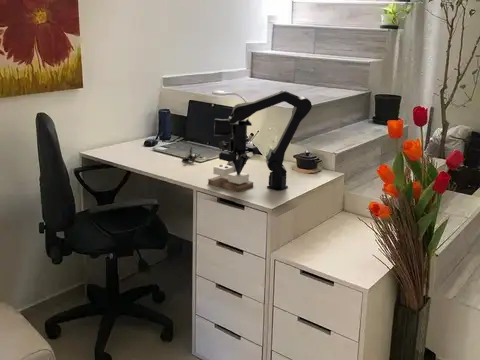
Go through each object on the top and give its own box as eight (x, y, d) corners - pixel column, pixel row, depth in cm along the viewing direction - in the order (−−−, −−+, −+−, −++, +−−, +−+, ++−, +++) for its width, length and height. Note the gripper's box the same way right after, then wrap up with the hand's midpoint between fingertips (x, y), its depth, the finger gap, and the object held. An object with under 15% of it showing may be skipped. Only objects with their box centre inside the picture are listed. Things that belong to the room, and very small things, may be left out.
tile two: (233, 173, 241) (233, 166, 240) (224, 176, 237) (224, 168, 236) (222, 170, 245) (223, 163, 244) (213, 173, 240) (213, 166, 239)
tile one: (248, 181, 237) (248, 173, 236) (239, 184, 232) (239, 176, 231) (237, 178, 240) (237, 170, 239) (227, 181, 236) (228, 173, 235)
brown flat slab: (253, 186, 238) (253, 182, 238) (237, 192, 231) (238, 187, 230) (224, 178, 248) (224, 174, 247) (208, 183, 241) (208, 179, 240)
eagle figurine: (203, 160, 272) (195, 152, 279) (197, 149, 268) (189, 141, 274) (191, 169, 271) (182, 161, 277) (184, 159, 266) (176, 151, 273)
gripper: (238, 129, 243) (237, 165, 247) (208, 136, 229) (208, 174, 233) (259, 133, 236) (258, 170, 240) (230, 141, 222) (229, 179, 227)
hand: (238, 173), depth 235 cm, fingers closed, pressing on tile one
